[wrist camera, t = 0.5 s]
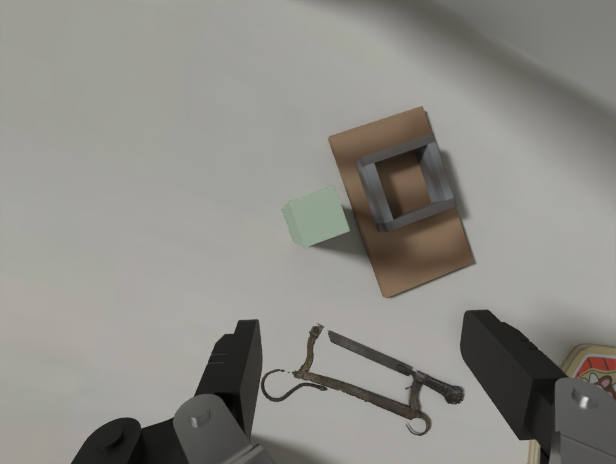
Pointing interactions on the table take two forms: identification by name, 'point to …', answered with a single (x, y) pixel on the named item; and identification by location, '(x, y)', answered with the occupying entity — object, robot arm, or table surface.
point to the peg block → (315, 217)
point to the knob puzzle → (587, 374)
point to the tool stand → (401, 200)
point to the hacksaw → (449, 392)
